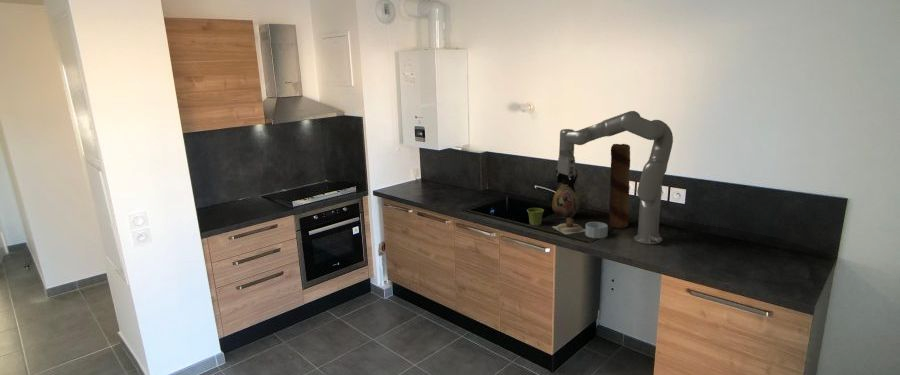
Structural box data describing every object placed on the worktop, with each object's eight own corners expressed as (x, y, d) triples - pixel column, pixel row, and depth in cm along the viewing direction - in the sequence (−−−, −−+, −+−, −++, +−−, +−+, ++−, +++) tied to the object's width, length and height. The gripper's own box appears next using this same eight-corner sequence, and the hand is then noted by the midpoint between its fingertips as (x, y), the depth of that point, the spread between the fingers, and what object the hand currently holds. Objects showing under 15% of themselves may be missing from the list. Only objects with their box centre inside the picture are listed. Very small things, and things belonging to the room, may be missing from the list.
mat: (588, 232, 264) (588, 230, 264) (565, 235, 260) (565, 234, 260) (573, 224, 277) (573, 223, 277) (551, 228, 273) (551, 226, 273)
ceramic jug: (551, 221, 285) (552, 170, 278) (551, 213, 300) (552, 164, 293) (582, 221, 282) (584, 170, 275) (580, 214, 297) (581, 164, 290)
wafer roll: (603, 224, 277) (607, 143, 267) (619, 221, 280) (623, 142, 270) (615, 229, 267) (619, 146, 257) (631, 226, 270) (636, 144, 260)
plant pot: (524, 226, 278) (524, 211, 276) (530, 221, 286) (530, 207, 284) (540, 228, 273) (541, 213, 271) (545, 223, 281) (546, 208, 279)
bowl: (611, 237, 255) (611, 226, 253) (593, 240, 251) (593, 229, 250) (598, 231, 265) (599, 220, 263) (581, 234, 261) (581, 223, 260)
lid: (586, 230, 265) (586, 220, 263) (565, 233, 261) (566, 223, 259) (573, 224, 276) (573, 214, 275) (553, 227, 272) (553, 217, 271)
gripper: (582, 154, 254) (581, 187, 258) (562, 149, 270) (561, 180, 274) (570, 156, 251) (569, 188, 255) (551, 151, 267) (549, 182, 271)
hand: (565, 184), depth 265 cm, fingers open, 9 cm apart
